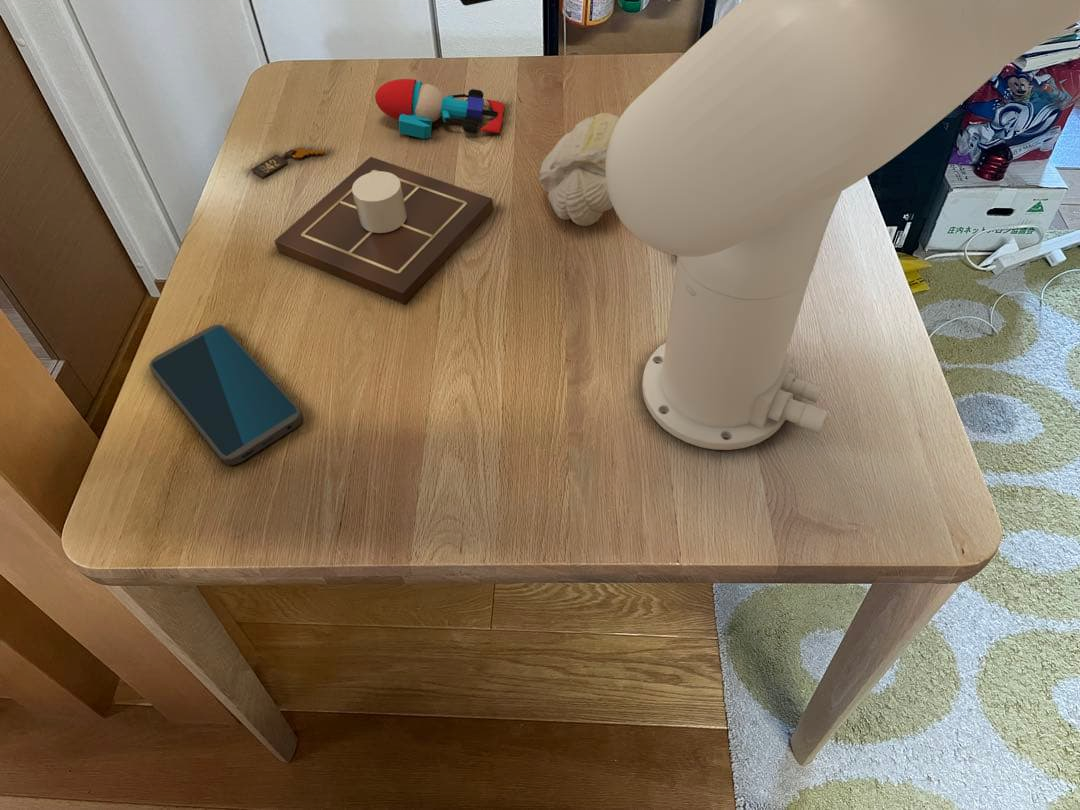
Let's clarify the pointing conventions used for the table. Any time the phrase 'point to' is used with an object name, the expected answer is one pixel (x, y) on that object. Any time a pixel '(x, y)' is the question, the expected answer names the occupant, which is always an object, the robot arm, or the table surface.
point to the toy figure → (434, 108)
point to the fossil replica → (580, 171)
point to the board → (391, 257)
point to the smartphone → (226, 394)
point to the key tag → (281, 161)
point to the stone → (379, 202)
